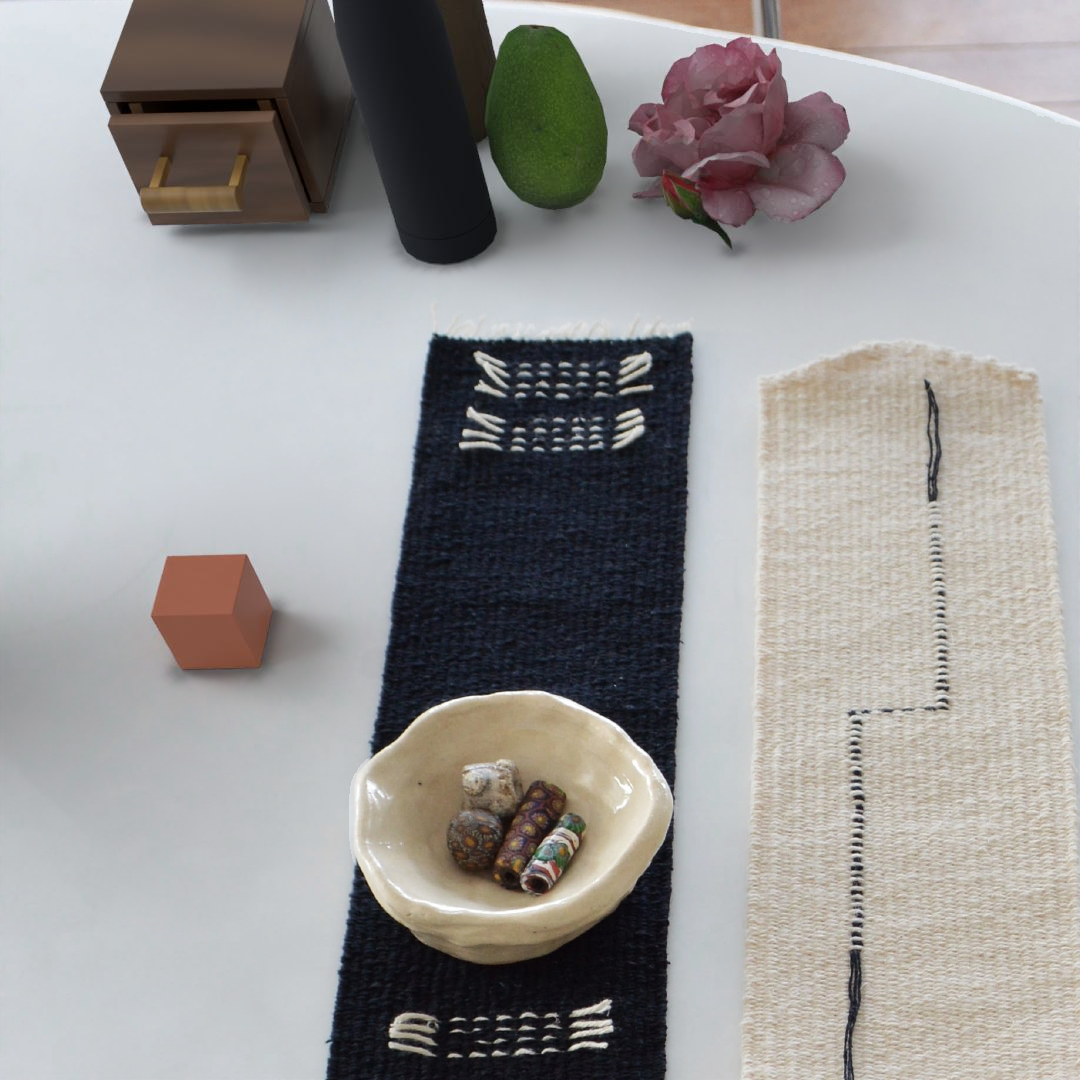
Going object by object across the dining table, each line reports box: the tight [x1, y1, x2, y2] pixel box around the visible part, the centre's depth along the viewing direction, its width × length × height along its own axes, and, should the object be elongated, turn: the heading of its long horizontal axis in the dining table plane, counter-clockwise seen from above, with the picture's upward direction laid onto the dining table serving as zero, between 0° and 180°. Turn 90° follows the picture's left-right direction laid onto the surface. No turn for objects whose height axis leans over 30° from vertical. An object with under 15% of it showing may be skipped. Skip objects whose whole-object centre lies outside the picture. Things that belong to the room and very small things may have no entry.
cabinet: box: [99, 0, 356, 214], centre depth 118 cm, size 14×12×9 cm
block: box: [150, 553, 274, 670], centre depth 97 cm, size 4×4×4 cm
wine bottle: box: [331, 0, 498, 265], centre depth 104 cm, size 6×6×30 cm
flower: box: [627, 36, 851, 252], centre depth 115 cm, size 15×15×10 cm
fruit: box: [485, 24, 609, 211], centre depth 114 cm, size 8×8×12 cm
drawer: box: [107, 98, 312, 227], centre depth 115 cm, size 17×10×7 cm, turn 2°
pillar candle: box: [437, 0, 497, 144], centre depth 118 cm, size 10×10×15 cm
